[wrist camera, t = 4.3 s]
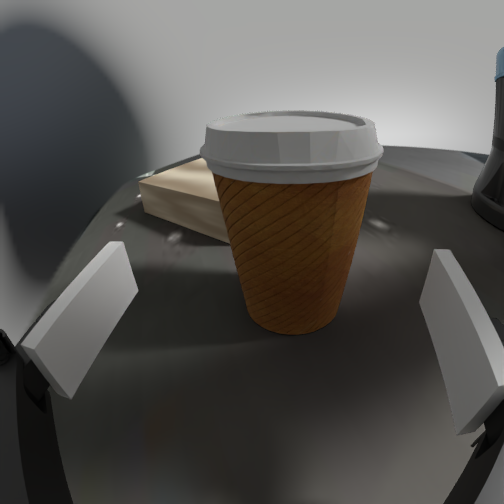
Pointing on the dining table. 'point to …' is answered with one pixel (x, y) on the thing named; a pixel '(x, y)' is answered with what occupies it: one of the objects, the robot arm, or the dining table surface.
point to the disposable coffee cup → (292, 208)
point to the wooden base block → (186, 199)
